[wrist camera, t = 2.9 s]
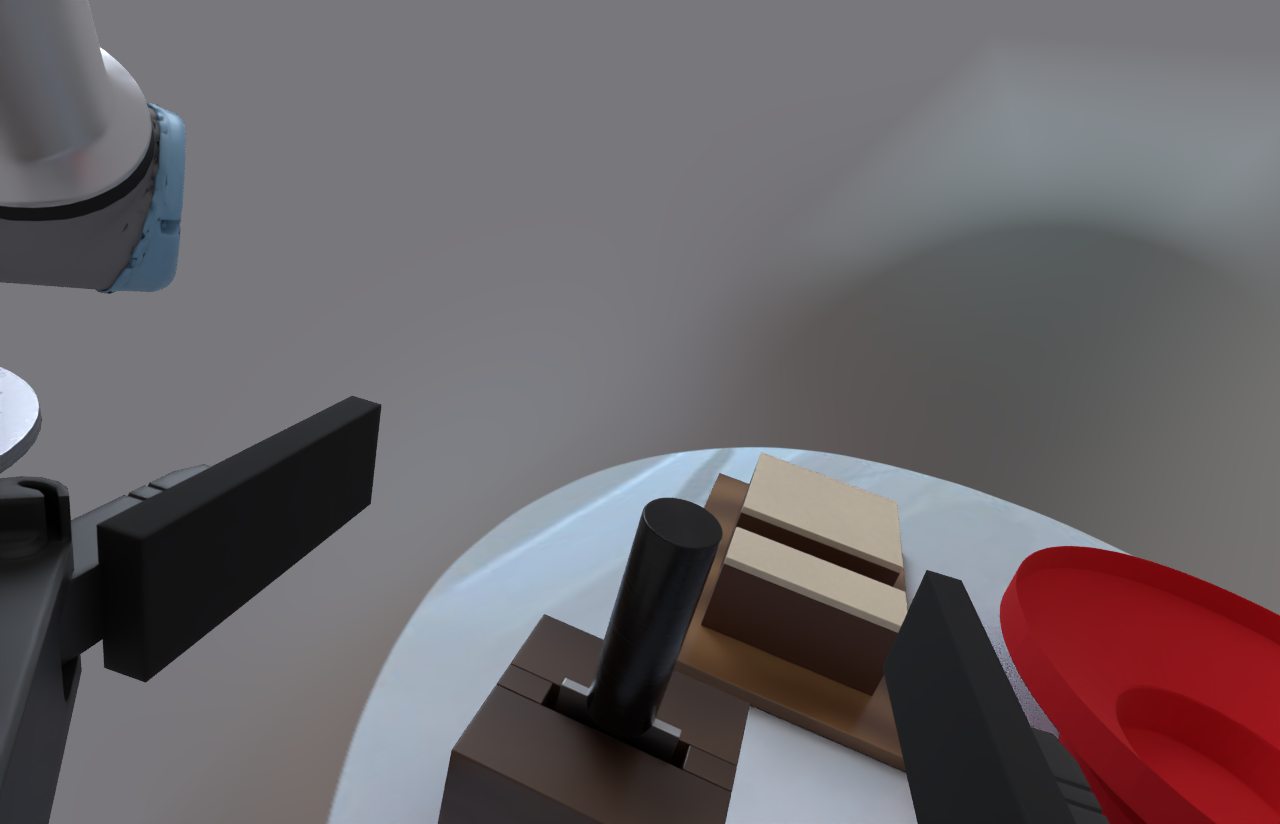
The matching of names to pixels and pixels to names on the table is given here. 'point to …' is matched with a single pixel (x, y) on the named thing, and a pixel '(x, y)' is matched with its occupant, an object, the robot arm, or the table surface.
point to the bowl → (1152, 684)
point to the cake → (823, 519)
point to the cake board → (783, 667)
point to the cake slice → (806, 610)
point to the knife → (648, 628)
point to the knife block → (588, 749)
